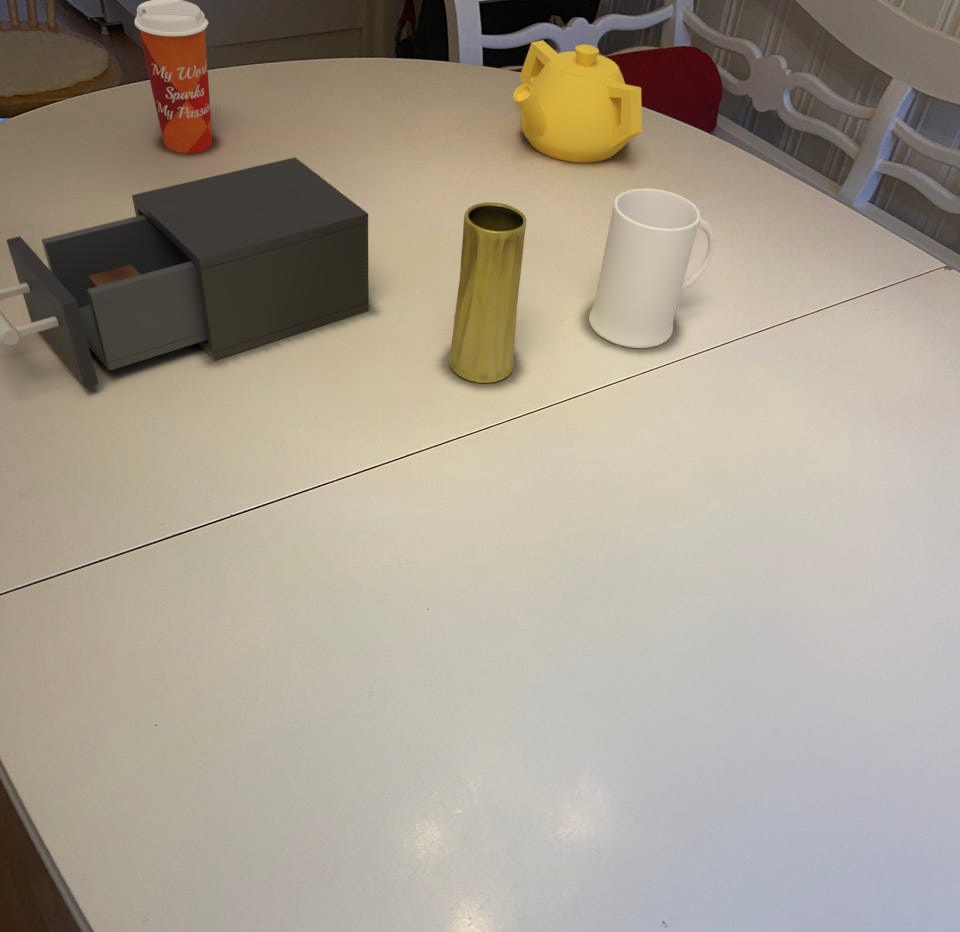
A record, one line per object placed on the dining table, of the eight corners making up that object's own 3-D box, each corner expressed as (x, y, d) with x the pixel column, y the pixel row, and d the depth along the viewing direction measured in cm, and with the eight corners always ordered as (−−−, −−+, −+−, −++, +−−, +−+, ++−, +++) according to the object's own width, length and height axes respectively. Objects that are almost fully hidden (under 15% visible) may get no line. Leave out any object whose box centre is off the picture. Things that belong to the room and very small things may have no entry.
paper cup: (162, 160, 111) (140, 23, 100) (148, 132, 115) (125, -2, 105) (229, 153, 114) (214, 19, 103) (213, 126, 118) (197, -5, 107)
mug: (680, 296, 101) (710, 182, 92) (715, 341, 96) (751, 226, 87) (576, 305, 99) (597, 188, 89) (607, 352, 93) (632, 234, 84)
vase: (469, 339, 93) (482, 192, 82) (524, 361, 91) (545, 214, 80) (436, 368, 89) (445, 219, 78) (493, 392, 88) (510, 243, 77)
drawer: (29, 406, 79) (1, 321, 73) (-22, 337, 85) (-52, 253, 79) (248, 336, 88) (239, 255, 82) (189, 278, 94) (177, 198, 88)
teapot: (457, 132, 123) (463, 36, 114) (556, 103, 132) (568, 11, 123) (568, 195, 114) (584, 96, 106) (666, 158, 123) (688, 64, 115)
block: (116, 338, 85) (107, 297, 82) (97, 316, 86) (87, 275, 83) (159, 326, 86) (151, 285, 83) (139, 305, 88) (131, 264, 85)
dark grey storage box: (214, 361, 87) (199, 259, 80) (150, 295, 93) (131, 194, 86) (368, 310, 95) (368, 213, 87) (301, 252, 101) (295, 156, 93)
